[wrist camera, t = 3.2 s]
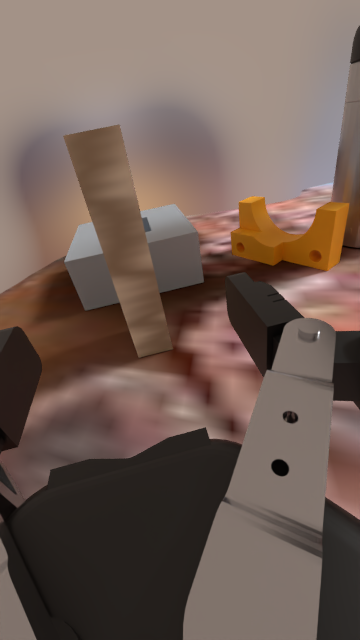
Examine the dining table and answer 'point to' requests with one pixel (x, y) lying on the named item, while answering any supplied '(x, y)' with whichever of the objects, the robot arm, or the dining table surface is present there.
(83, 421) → the dining table surface
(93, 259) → the grey square socket block
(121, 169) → the wooden bar
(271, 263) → the pipe clamp
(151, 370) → the dining table surface
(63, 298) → the dining table surface
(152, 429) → the dining table surface
